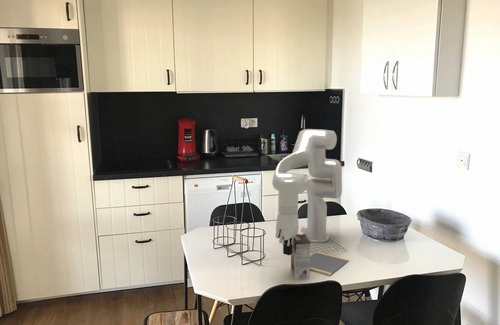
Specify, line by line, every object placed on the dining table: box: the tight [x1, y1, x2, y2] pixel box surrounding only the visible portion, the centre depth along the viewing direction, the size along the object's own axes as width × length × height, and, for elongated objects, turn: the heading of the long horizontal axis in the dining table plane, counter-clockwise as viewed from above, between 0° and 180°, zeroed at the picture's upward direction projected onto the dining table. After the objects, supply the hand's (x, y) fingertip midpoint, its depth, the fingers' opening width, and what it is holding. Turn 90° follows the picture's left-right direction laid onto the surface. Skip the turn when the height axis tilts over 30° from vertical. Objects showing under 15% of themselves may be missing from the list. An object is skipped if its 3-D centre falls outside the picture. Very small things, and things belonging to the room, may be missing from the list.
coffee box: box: [290, 233, 311, 280], centre depth 177 cm, size 9×6×16 cm
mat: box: [309, 250, 349, 277], centre depth 188 cm, size 16×18×1 cm
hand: (287, 253), depth 168 cm, fingers closed
